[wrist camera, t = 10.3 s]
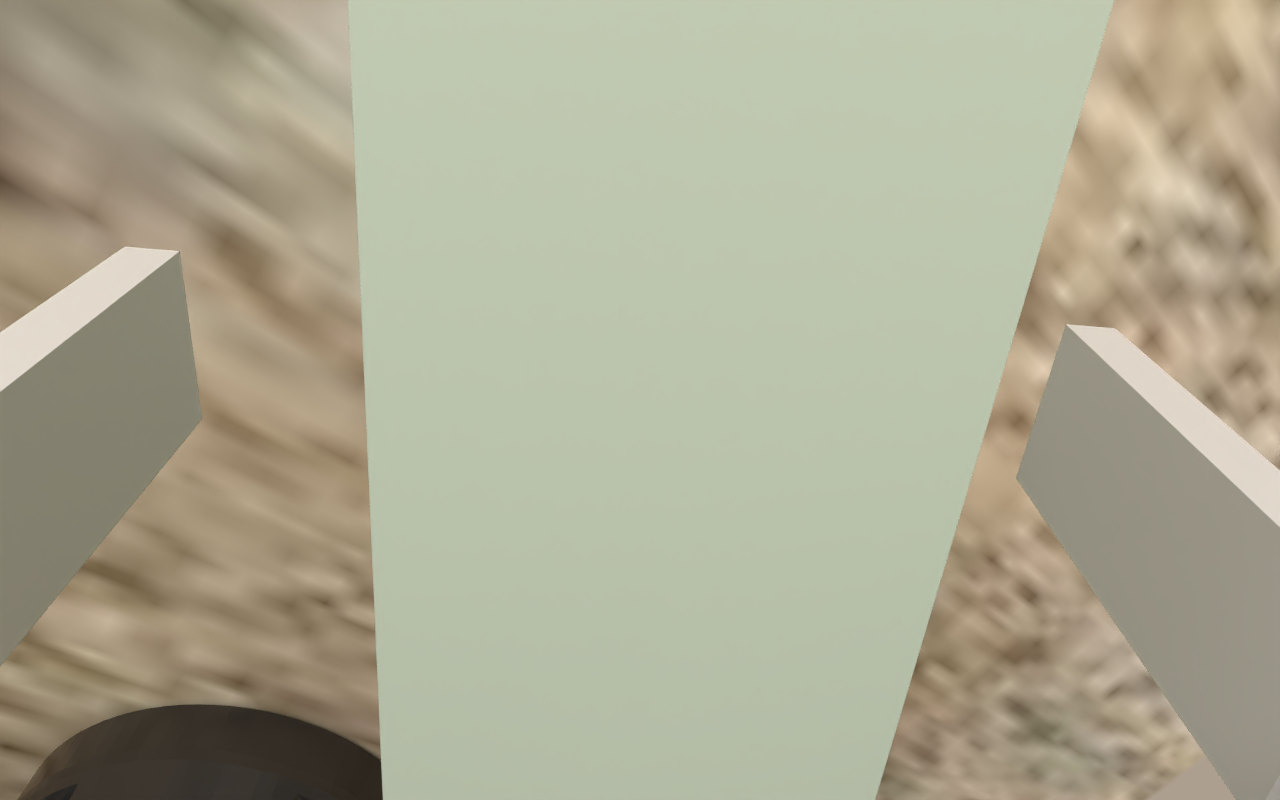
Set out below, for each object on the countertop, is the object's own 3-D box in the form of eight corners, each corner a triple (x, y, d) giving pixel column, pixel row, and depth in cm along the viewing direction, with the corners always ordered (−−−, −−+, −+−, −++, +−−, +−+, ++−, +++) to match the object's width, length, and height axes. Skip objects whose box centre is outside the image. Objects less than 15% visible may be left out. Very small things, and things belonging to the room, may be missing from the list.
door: (721, 472, 26) (863, 1292, 10) (534, 459, 25) (404, 1283, 10) (814, -120, 19) (1526, -206, 4) (565, -147, 19) (332, -350, 4)
